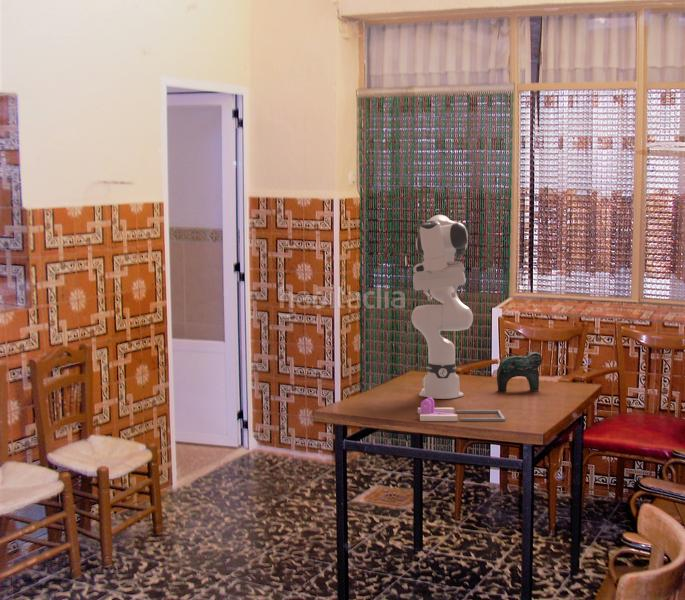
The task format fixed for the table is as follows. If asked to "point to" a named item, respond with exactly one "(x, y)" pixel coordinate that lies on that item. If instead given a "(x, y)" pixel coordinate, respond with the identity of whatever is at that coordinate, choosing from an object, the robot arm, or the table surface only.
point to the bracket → (429, 407)
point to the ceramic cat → (519, 369)
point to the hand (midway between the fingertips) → (442, 298)
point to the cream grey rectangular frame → (454, 416)
